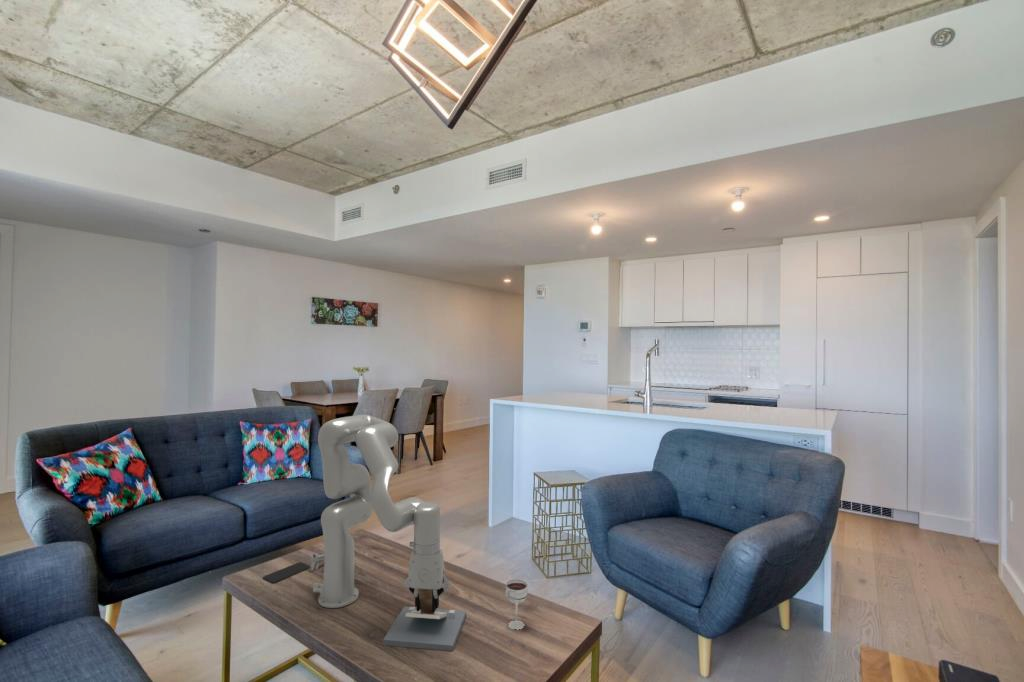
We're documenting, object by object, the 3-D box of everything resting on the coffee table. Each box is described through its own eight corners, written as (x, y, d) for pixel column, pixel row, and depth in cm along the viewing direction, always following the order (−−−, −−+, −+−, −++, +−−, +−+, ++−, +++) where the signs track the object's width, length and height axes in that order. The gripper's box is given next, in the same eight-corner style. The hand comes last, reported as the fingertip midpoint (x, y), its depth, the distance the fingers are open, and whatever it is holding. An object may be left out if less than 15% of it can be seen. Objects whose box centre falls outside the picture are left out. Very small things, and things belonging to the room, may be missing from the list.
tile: (415, 610, 145) (415, 613, 145) (405, 612, 136) (405, 616, 136) (447, 612, 144) (447, 616, 144) (439, 615, 135) (439, 619, 135)
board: (383, 645, 133) (383, 633, 133) (404, 611, 149) (404, 601, 149) (452, 651, 130) (452, 639, 130) (466, 616, 147) (466, 606, 147)
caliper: (311, 573, 174) (312, 556, 175) (309, 572, 175) (310, 555, 175) (354, 552, 192) (355, 536, 192) (353, 551, 193) (353, 536, 193)
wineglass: (502, 620, 145) (502, 581, 145) (522, 616, 147) (522, 577, 147) (509, 633, 138) (510, 592, 138) (531, 628, 141) (531, 588, 141)
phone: (311, 566, 178) (273, 582, 166) (311, 568, 178) (273, 585, 166) (300, 561, 182) (261, 577, 170) (300, 563, 182) (261, 579, 170)
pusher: (420, 612, 140) (417, 586, 137) (424, 601, 144) (421, 575, 141) (433, 613, 139) (431, 587, 136) (437, 602, 143) (434, 576, 140)
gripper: (395, 550, 137) (394, 614, 136) (451, 553, 135) (451, 618, 134) (404, 540, 144) (403, 600, 144) (457, 542, 142) (457, 604, 142)
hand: (426, 608), depth 139 cm, fingers closed on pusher, 4 cm apart
